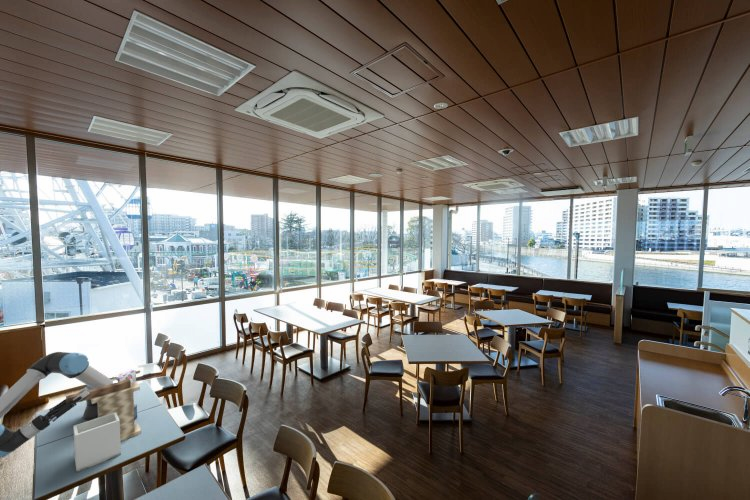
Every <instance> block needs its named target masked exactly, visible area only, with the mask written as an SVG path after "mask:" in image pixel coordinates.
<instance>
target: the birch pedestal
mask: <svg viewBox="0 0 750 500" xmlns="http://www.w3.org/2000/svg"><path fill="white" fill-rule="evenodd" d="M140 390H141V387H140V384H139V383H138V382H137V381H136V382H133V383H131V387H130V388H127V389H123V390H120V391H116V392H113V393H109V394H106V395H102V396H99V397H95V398H92V399H91V402H92V404H94V403H97V405H98V418H99V417H102V416H105V415H108V414H111V413H114V412H116V413H117V415H118V417H119V420H120V442H122V441H124V440H128V439H130V438H133V437H135V436H138V435H141V434H142V429H141V427H140V425H139V423H136V424H135V421H134V405H135V403H134V402H135V401H134V400H135V399H134V396H135V395H134V392H137V391H140Z"/></svg>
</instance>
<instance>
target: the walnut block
mask: <svg viewBox="0 0 750 500" xmlns="http://www.w3.org/2000/svg"><path fill="white" fill-rule="evenodd" d="M130 387H131V381H130V379H127V380H124V381H120V382H116V383H113V384H109V385H105V386H102V387H98V388H94V389H90V390H87V391H88V392H89V393H90V394H88V395H87V396H86V397H84V398H83V399H81V400H80V401H79V402H77V403H76V404H79V403H82V402H84V401H86V400H89V399H92V398H95V397H99V396H102V395H106V394H109V393H113V392H116V391H120V390H123V389H127V388H130ZM78 392H79V391H78ZM78 392H76V393H72V394H69V395H66V396H65V399H66V404H68V403H69V402H71V401H73V399H74V398H75V397H77V396H78V395H80V394H81V393H83V392H84V391H83V392H79V393H78Z"/></svg>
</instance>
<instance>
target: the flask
mask: <svg viewBox="0 0 750 500" xmlns="http://www.w3.org/2000/svg"><path fill="white" fill-rule="evenodd" d="M137 419H138V405H137V404H136V403H134V422H135V421H136V420H137Z"/></svg>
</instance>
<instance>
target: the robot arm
mask: <svg viewBox="0 0 750 500" xmlns="http://www.w3.org/2000/svg"><path fill="white" fill-rule="evenodd" d="M50 374H59V375H62V376H64V377H66V378H67V379H74V378H75V379H76V380H78V381H80V382H81V383H83V384H85V385H86V387H85V386H84V387H83V388H82V389H80V390H79V391H77V393H79V392H83V391H84V392H83V393H81V394H80V395H78V396H77V397H75V398H74V399H73V401H71V402H69V403H68V404H66V398H65V399H63V400H62V401H60V402H59V403H57V404H56V405H54V406H53V407H51V408H49V409H48V412H47V413H46V414H44V415H43V414H39V415H38V416H36V417H34V418H33V419H32V420H31V421H29V422H27V423H26V424H25V425H24V424H23V425H22V426H21V427H19V429H17V430H15V431H14V430H12V429H10V428H8V427H6V426H5V425H4V424H3V423H0V458H5V457H6V456H8V455H10V454H11V453H12V452H15V451H16V450H17V449H19V448H20V447H21V446H23V445H24V444H25V443H26V442H28V441H29V440H31V439H33V438H34V437H35V436H37V435H38V434H40V433H41V431H44V430H45V429H47V428H48V427H49V426H50V425H51V422H55V421H57V420H58V419H59V418H60V417H62V416H63V415H65V414H66V413H67V412H69V411H70V410H71V409H73V408H74V407H77V405H78V403H80V402H79V401H80V400H81V399H83V398H84V397H86V396H87V395H88V394H90V393H89V392H88V391H87V390H90V389H94V388H98V387H102V386H105V385H109V384H113V383H116V382H119V381H118V380H116V379H113V378H109V377H108V376H106V374H104V373H102V372H100V371H99V370H97V369H95V368H94V367H92V366H91V365H90V362H89V358H88V356H87V355H85V354H83V353H80V352H64V351H63V352H62V351H54V352H51V353H49V354H47V355H45V356H43V357H41V358H40V359H38V360H37V361H36V362H35V363H33V364H32V365H31V366H30V367H28V368H27V369H26V373H25V374H24V375H22V377H20V378H19V379H18V380H17V381H16V382H15V383H14V384H13V385H12V386H11V387H10V388H9V389H8V390H6V391H5V392H4V393H3V394H2V395H1V396H0V420H1V419H2V418H3V417H4V416H5V415H6V414H7V413H8V412H9V411H10V410H11V409H12V408H13V407H14V406H16V404H17V403H18V402H19V401H20V400H21V399H23V397H24V396H26V394H27V393H29V391H31V389H33V388H34V387H35V386H36V385H37V384H38V383H39V382H40V381H41V380H44V379H46V378H47V377H48V376H49V375H50ZM85 401H86V406H85V410H84V413H83V415H82V416H83V420H84V421H90V420H93V419H96V418H98V405H97V403H94V404H92V402H91V399H89V400H85ZM77 402H78V403H77Z"/></svg>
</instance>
